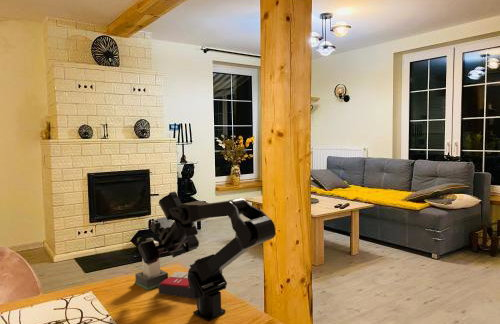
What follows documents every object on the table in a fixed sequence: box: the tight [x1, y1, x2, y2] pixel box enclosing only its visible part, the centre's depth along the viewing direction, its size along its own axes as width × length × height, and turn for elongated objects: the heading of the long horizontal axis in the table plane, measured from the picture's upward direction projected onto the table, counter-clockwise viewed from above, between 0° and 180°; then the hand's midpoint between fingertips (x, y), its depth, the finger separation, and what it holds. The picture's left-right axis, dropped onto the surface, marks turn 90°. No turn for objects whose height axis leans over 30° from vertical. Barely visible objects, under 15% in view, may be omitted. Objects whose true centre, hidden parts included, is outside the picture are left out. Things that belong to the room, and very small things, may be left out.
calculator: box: [157, 271, 213, 300], centre depth 117 cm, size 11×4×15 cm
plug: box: [141, 237, 161, 278], centre depth 122 cm, size 4×4×14 cm
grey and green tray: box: [134, 269, 169, 291], centre depth 123 cm, size 8×8×3 cm
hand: (160, 259), depth 118 cm, fingers open, 9 cm apart
